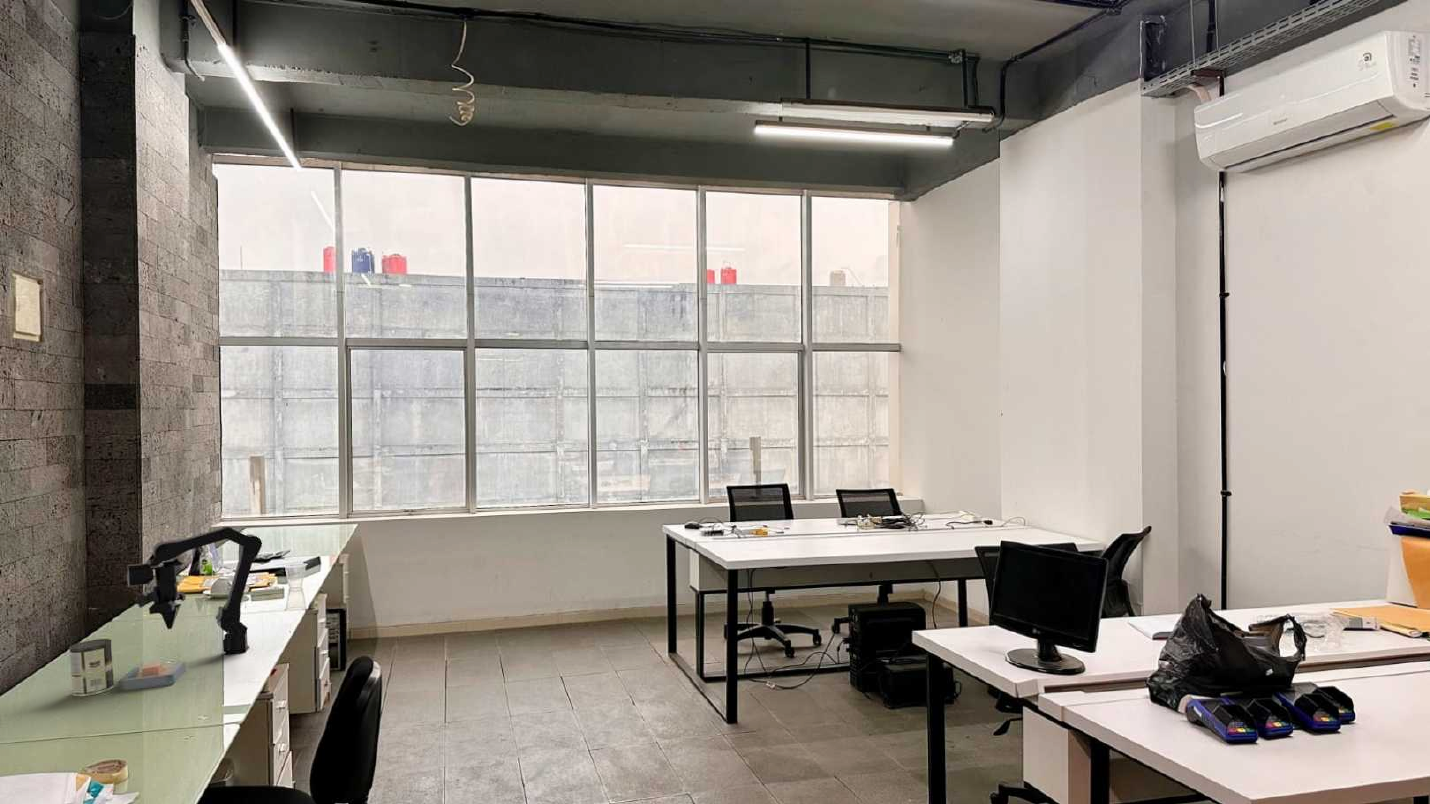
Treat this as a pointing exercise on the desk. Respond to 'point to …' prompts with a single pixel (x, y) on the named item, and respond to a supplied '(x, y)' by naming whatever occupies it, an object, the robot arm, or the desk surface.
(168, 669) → the pallet
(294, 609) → the desk surface
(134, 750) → the desk surface
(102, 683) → the coffee can
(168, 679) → the dock
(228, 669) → the desk surface
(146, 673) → the salmon pink block
